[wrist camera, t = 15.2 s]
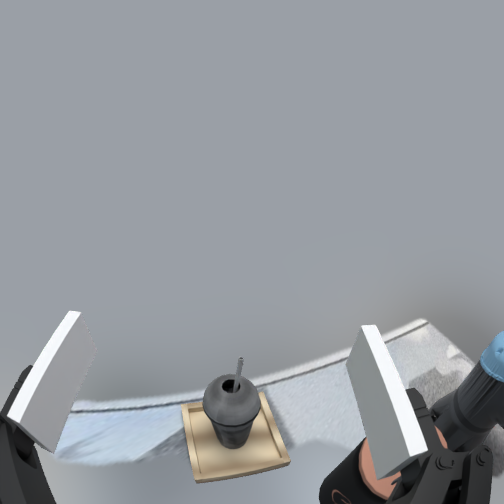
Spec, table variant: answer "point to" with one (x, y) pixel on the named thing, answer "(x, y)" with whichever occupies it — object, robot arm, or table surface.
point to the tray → (232, 460)
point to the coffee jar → (359, 479)
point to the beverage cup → (232, 407)
